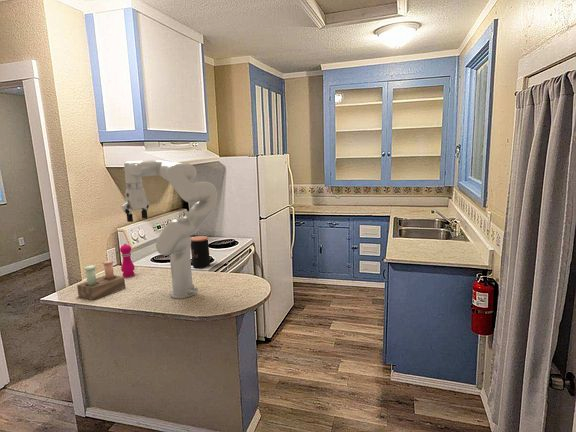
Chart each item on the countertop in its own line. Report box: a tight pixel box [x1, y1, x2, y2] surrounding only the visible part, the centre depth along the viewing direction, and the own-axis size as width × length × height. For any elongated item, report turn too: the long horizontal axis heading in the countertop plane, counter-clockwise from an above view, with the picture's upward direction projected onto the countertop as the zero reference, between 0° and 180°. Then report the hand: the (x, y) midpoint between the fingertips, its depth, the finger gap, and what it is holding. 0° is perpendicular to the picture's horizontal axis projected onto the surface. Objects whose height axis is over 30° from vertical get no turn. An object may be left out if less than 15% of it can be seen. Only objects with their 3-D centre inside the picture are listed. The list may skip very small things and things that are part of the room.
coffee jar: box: [190, 235, 211, 269], centre depth 226 cm, size 11×11×18 cm
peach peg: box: [102, 259, 114, 280], centre depth 192 cm, size 5×5×10 cm
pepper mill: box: [119, 241, 136, 278], centre depth 213 cm, size 7×7×20 cm
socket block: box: [76, 275, 126, 301], centre depth 189 cm, size 12×18×6 cm, turn 152°
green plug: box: [83, 264, 97, 286], centre depth 183 cm, size 5×5×10 cm
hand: (137, 220), depth 186 cm, fingers open, 9 cm apart
